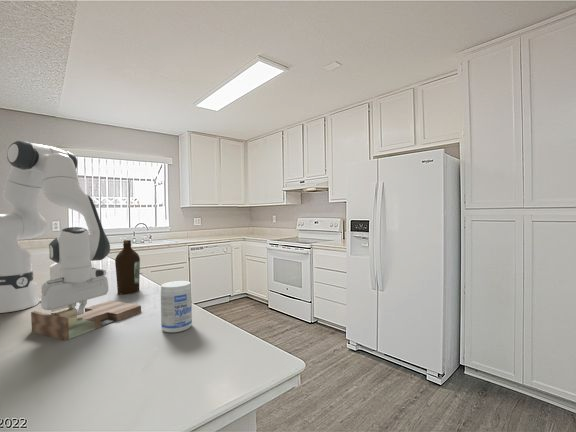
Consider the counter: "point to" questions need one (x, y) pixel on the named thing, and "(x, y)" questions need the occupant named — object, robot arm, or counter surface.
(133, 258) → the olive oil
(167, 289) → the supplement tub
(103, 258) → the robot arm
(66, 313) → the block
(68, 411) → the counter surface
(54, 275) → the milk
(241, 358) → the counter surface
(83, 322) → the board
